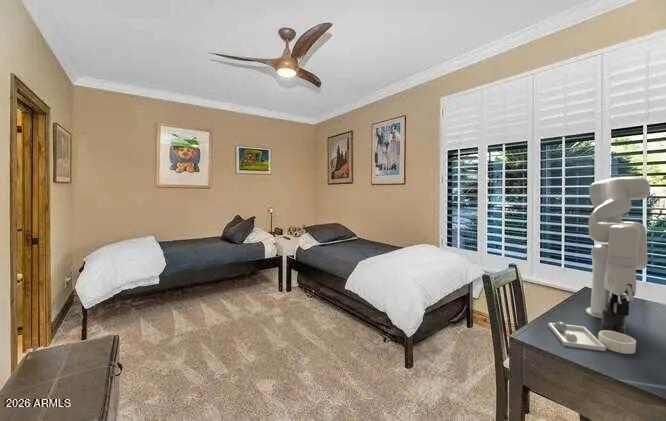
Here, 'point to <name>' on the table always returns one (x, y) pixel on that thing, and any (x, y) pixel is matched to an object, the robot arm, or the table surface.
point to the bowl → (617, 341)
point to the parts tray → (578, 337)
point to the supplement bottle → (612, 321)
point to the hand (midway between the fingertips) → (618, 312)
